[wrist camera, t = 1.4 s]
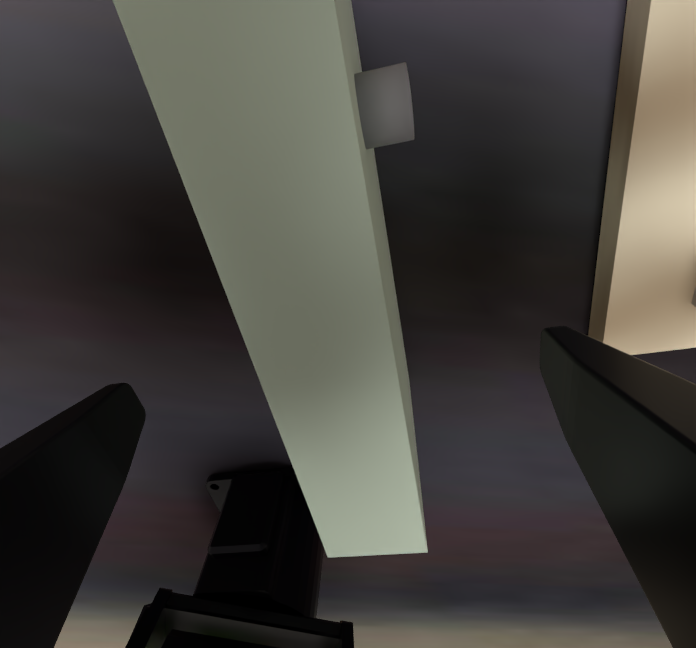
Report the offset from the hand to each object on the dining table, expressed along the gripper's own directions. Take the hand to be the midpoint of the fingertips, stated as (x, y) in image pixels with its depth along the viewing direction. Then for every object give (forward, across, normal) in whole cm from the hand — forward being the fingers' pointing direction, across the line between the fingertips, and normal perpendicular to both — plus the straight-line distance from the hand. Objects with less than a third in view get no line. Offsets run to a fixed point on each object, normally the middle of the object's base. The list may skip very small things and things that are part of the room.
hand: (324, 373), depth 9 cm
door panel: (+8, 0, 0) cm, 8 cm away
